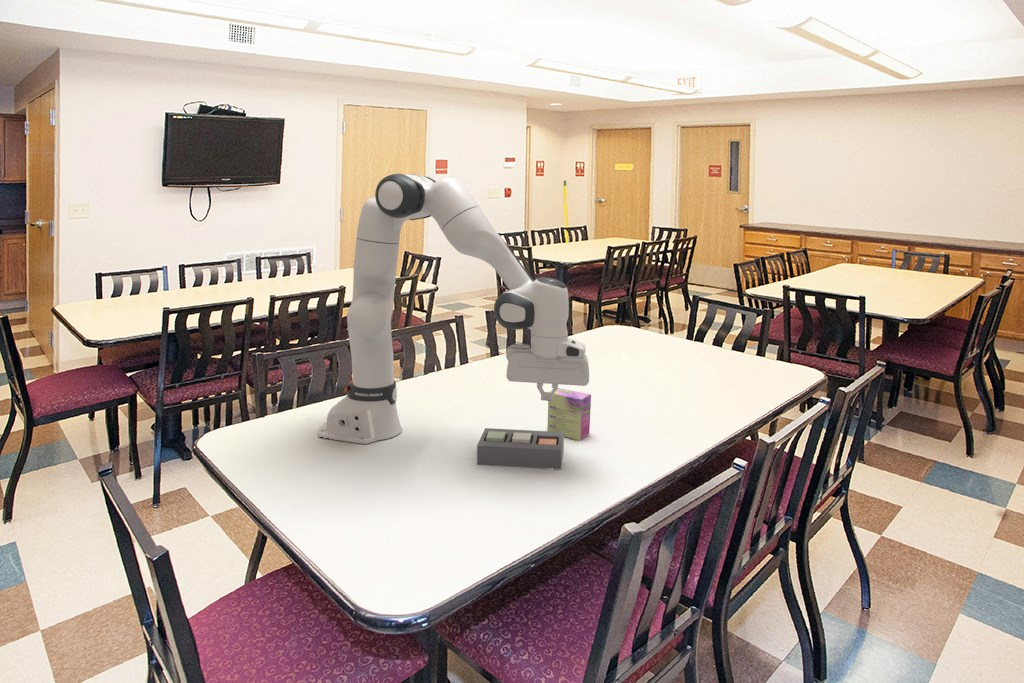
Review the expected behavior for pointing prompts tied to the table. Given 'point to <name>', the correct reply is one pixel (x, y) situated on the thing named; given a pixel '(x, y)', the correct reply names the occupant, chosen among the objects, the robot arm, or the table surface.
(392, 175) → the robot arm
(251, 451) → the table surface
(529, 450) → the keyboard
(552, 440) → the key terracotta
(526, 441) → the key grey
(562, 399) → the box
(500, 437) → the key sage
